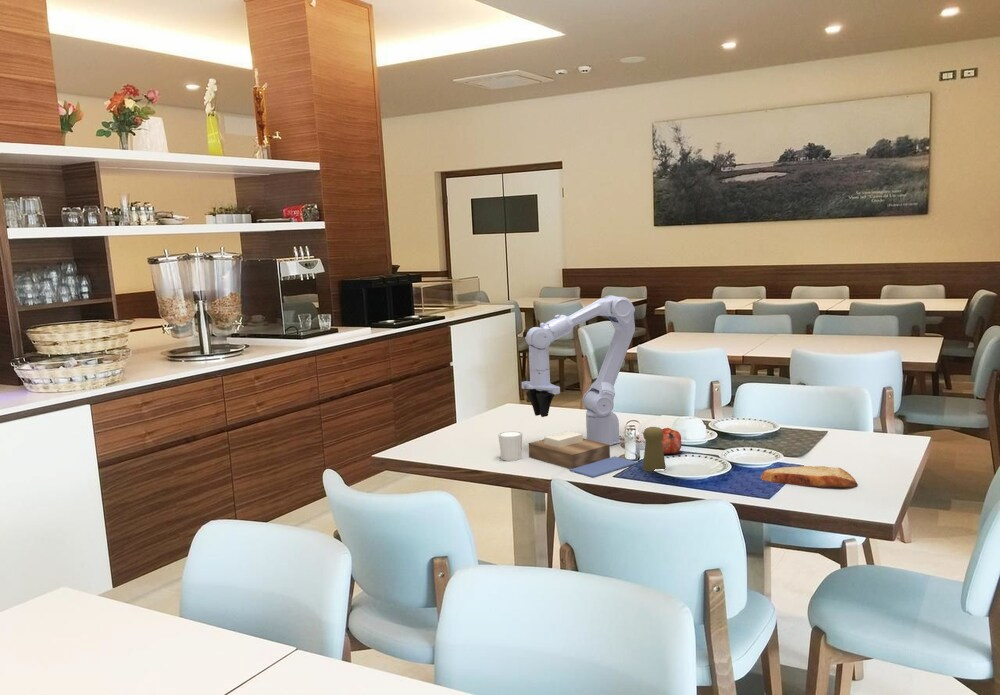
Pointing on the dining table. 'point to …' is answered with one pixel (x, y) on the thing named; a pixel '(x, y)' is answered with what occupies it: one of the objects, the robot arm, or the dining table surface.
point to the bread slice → (811, 476)
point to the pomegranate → (671, 441)
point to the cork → (653, 449)
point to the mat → (603, 466)
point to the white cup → (510, 445)
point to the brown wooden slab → (570, 453)
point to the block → (563, 439)
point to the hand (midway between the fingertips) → (541, 415)
